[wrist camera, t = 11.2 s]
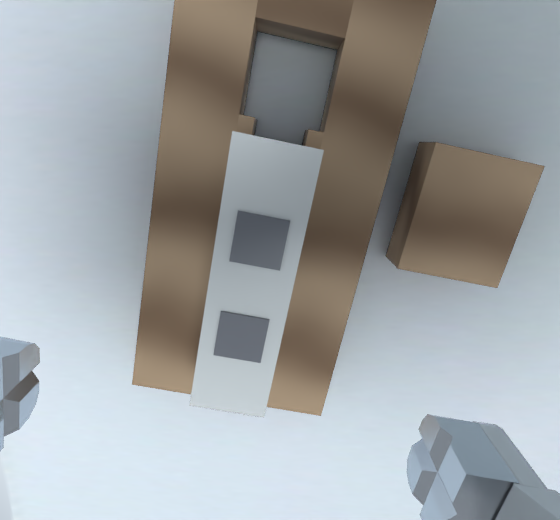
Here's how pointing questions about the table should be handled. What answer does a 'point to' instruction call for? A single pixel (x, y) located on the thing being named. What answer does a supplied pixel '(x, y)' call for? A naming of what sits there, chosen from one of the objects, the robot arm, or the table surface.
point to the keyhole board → (331, 138)
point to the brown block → (461, 213)
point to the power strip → (253, 271)
